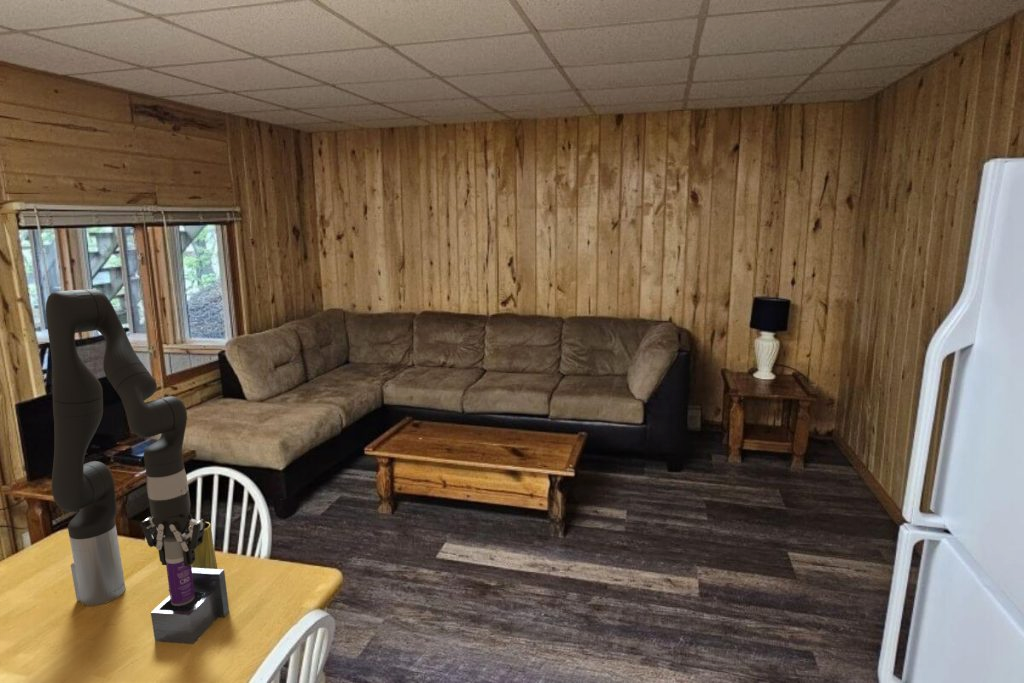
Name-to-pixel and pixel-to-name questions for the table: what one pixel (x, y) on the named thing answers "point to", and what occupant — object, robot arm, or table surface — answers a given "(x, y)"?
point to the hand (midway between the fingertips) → (178, 563)
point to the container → (178, 573)
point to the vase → (205, 551)
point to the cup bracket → (192, 609)
